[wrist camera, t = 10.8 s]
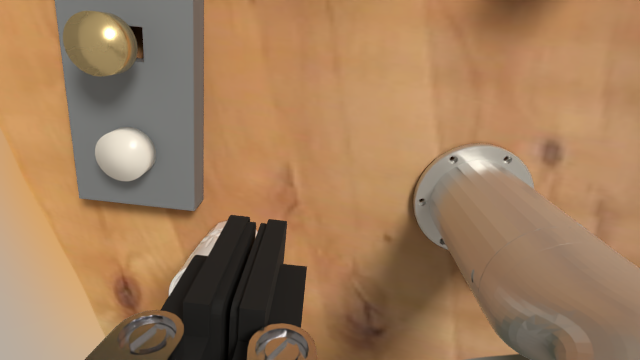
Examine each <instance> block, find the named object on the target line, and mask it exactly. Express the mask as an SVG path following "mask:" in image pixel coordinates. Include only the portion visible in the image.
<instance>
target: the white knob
mask: <svg viewBox="0 0 640 360" xmlns="http://www.w3.org/2000/svg"><path fill="white" fill-rule="evenodd" d="M95 157H96V160H97V163H98V165H99V166H100V168H101V169H102V170H103V171H104V172H105V173H106V174H107V175H108V176H110V177H112V178H114V179H116V180H119V181H132V180H135V179H137V178H139V177H140V176H141V175H143V174H144V173H145V172H147V171H148V170H149V169H150V168H151V167H152V166H153V164H154V163H155V159H156V150H155V147H154V144H153V142H152V141H151V139H150V138H149V137H148V136H147V135H146V134H145V133H143V132H142V131H140V130H138V129H136V128H132V127H122V128H119V129H116V130H114V131H112V132H110V133H107V134H105V135H104V136H102V137H101V138H100V139H99V140H98V142H97V144H96V147H95Z"/></svg>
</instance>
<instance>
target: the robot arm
mask: <svg viewBox="0 0 640 360" xmlns="http://www.w3.org/2000/svg"><path fill="white" fill-rule="evenodd" d="M452 156H453V159H451V160H450V157H452ZM505 157H506V158H505ZM504 158H505V159H504ZM420 199H423V200H422V201H419V200H420ZM413 208H414V213H415V217H416V220H417V222H418V224H419V226H420V228H421V230H422V232H423V233H424V234H425V235H426V236H427V237H428V238H429V239H430V240H431V241H432V242H434V243H435V244H436V245H438V246H440V247H442V248H444V249H447V250H449V251H450V253H451V255H452V257H453V259H454V260H455V262H456V264H457V266H458V268H459V269H460V271H461V273H462V275H463V277H464V278H465V280H466V282H467V284H468V286H469V288H470V289H471V291H472V293H473V295H474V297H475V298H476V300H477V302H478V304H479V306H480V307H481V309H482V311H483V313H484V314H485V316H486V318H487V319H488V321H489V323H490V325H491V326H492V328H493V329H494V331H495V332H496V333H497V335H498V336H499V337H500V338H501V339H502V340H503V341H504V342H505V343H506V344H507V345H508V346H510V347H511V348H512V349H513V350H515V351H516V352H518V353H519V354H521V355H523V356H525V357H527V358H529V359H531V360H640V268H639V267H637V266H636V265H634V264H633V263H632V262H630V261H629V260H627V259H626V258H625V257H623V256H622V255H620V254H619V253H618V252H616V251H615V250H614V249H612V248H611V247H610V246H608V245H607V244H606V243H604V242H603V241H602V240H600V239H599V238H598V237H596V236H595V235H594V234H592V233H591V232H590V231H588V230H587V229H586V228H584V227H583V226H582V225H580V224H579V223H578V222H576V221H575V220H574V219H572V218H571V217H570V216H569V215H567V214H566V213H565V212H563V211H562V210H561V209H559V208H558V207H557V206H555V205H554V204H553V203H551V202H550V201H549V200H547V199H546V198H545V197H543V196H542V195H541V194H540V193H538V192H537V191H536V190H534V183H533V180H532V177H531V174H530V172H529V170H528V168H527V167H526V165H525V164H524V163H523V162H522V161H521V160H520V159H519V158H518V157H517V156H515V155H514V154H513V153H511V152H509V151H507V150H506V149H504V148H502V147H499V146H495V145H492V144H483V143H476V144H467V145H463V146H459V147H456V148H454V149H452V150H449V151H447V152H445V153H444V154H442V155H441V156H439V157H438V158H436V159H435V160H434V161H433V162H432V163H431V164H430V165H429V166H428V167H427V168H426V170H425V171H424V172H423V174H422V175H421V177H420V179H419V181H418V183H417V185H416V188H415V193H414V199H413ZM286 229H287V221H280V220H271V219H269V220H268V223H267V224H265V223H261V224H260V227H259V230H258V233H257V235H256V222H250V217H244V216H235V215H230V217H229V219H228V220H227V222H226V224H225V226H224V228H223V230H222V231H221V233H220V235H219V237H218V239H217V240H216V242H215V244H214V246H213V248H212V250H211V251H210V253H209V255H208V256H204V255H195V256H194V257H193V258H192V260H191V261H190V263H189V265H188V266H187V268H186V270H185V271H184V273H183V274H182V276H181V278H180V279H179V281H178V283H177V284H176V286H175V287H174V289H173V291H172V292H171V294H170V296H169V297H168V299H167V301H166V302H165V304H164V305H163V307H162V309H161V310H153V311H145V312H142V313H138V314H135V315H133V316H131V317H129V318H127V319H125V320H124V321H122V322H121V323H120V324H119V325H118V326H116V327H115V328H114V329H113V330H112V332H111V333H110V334H109V335H108V336H107V337H106V338H105V339H104V340H103V341H102V342H101V343H100V344H99V345H98V346H97V347H96V348H95V349H94V350H93V351H92V352H91V353H90V354H89V355H88V357H86V359H85V360H318V358H317V351H316V346H315V343H314V341H313V339H312V338H311V336H310V335H309V334H308V333H307V332H306V331H304V330H303V329H301V321H302V311H303V300H304V290H305V280H306V270H307V267H305V266H296V265H287V264H283V262H284V251H285V240H286ZM255 237H256V238H255ZM441 238H442V239H441Z"/></svg>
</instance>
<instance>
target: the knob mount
mask: <svg viewBox="0 0 640 360" xmlns="http://www.w3.org/2000/svg"><path fill="white" fill-rule="evenodd" d="M55 7H56V15H57V23H58V31H59V39H60V47H61V55H62V63H63V71H64V79H65V87H66V95H67V103H68V111H69V119H70V127H71V135H72V143H73V151H74V159H75V167H76V175H77V183H78V191H79V198H81V199H90V200H99V201H108V202H117V203H126V204H135V205H144V206H153V207H162V208H171V209H180V210H189V211H195V210H196V208H197V207H198V206H199V204H200V203H201V202H202V201H203V126H204V0H55ZM81 11H98V12H107V13H111V14H114V15H116V16H118V17H120V18H121V19H122V20H124V21H125V22H126V23H127V24H128V25H129V26H136V27H142V31H143V51H144V59H142V58H136V60H135V62H134V64H133V65H132V66H131V68H129V69H128V70H127V71H125V72H123V73H119V74H114V75H109V76H102V77H100V76H93V75H90V74H87V73H85V72H83V71H82V70H80V69H79V68H78V67H77V66H76V65H75V64H74V63H73V62H72V61H71V59H70V58H69V56H68V55H67V53H66V50H65V47H64V43H63V30H64V27H65V24H66V22H67V21H68V20H69V18H70V17H71V16H73V15H74V14H76V13H78V12H81ZM122 127H132V128H136V129H138V130H140V131H142V132H143V133H145V134H146V135H147V136H148V137H149V138H150V139H151V141H152V142H153V144H154V147H155V150H156V159H155V163H154V164H153V166H152V167H151V168H150V169H149V170H148V171H147V172H145V173H144V174H143V175H141V176H140V177H139V178H137V179H135V180H132V181H119V180H116V179H114V178H112V177H110V176H108V175H107V174H106V173H105V172H104V171H103V170H102V169H101V168H100V166H99V165H98V163H97V160H96V157H95V147H96V144H97V142H98V140H99V139H100V138H101V137H102V136H104V135H105V134H107V133H110V132H112V131H114V130H116V129H119V128H122Z"/></svg>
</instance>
